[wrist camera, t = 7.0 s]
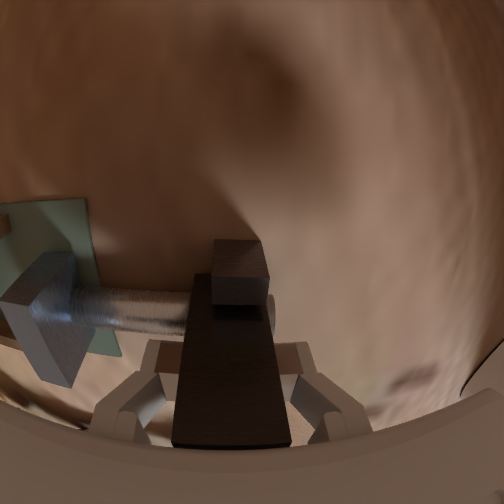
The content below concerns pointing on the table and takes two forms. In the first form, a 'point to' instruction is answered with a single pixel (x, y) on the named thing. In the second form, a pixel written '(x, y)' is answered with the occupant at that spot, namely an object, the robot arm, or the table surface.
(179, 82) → the table surface
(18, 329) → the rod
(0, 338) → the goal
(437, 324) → the table surface
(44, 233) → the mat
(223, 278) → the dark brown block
